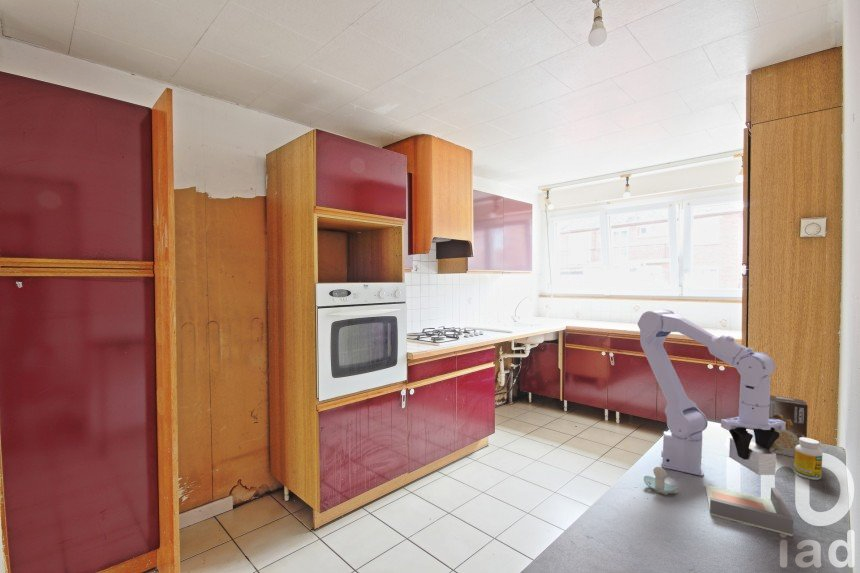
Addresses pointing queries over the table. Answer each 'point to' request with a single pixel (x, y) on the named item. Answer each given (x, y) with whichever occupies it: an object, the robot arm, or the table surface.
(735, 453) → the aluminium bar
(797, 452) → the supplement bottle
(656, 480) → the pacifier
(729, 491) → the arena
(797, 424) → the coffee box
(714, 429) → the table surface
